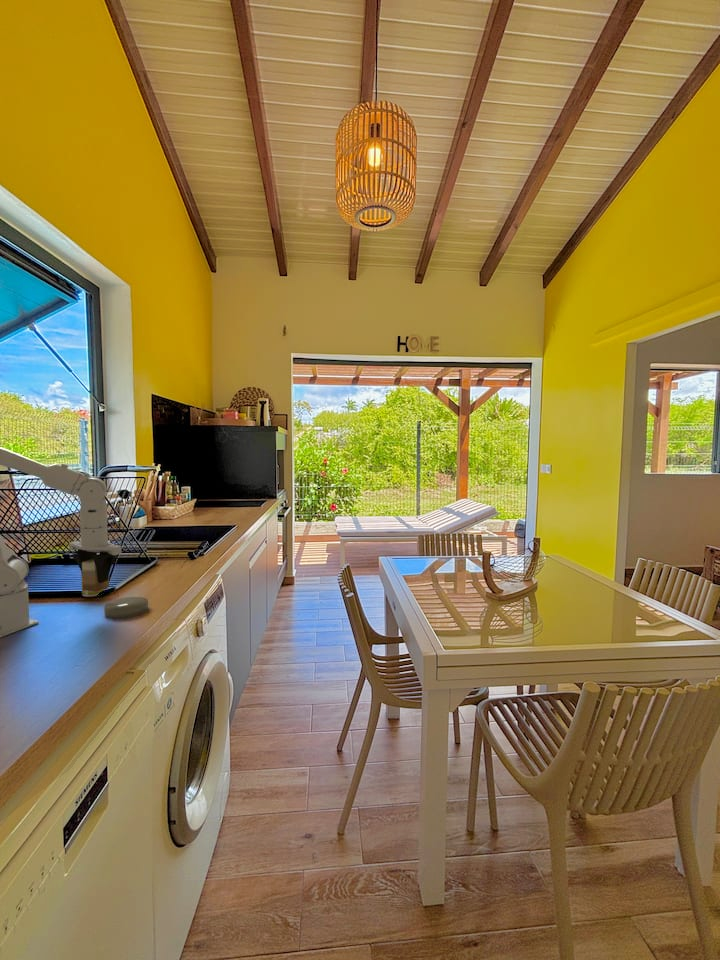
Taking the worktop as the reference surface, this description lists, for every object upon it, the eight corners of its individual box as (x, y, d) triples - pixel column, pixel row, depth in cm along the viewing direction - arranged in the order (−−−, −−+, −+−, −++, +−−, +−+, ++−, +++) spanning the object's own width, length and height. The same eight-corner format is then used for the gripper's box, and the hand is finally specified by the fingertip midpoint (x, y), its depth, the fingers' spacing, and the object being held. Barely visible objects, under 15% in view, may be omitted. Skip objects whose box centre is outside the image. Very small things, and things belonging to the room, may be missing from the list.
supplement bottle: (108, 591, 130) (107, 558, 129) (95, 597, 124) (94, 563, 124) (90, 590, 130) (89, 557, 130) (77, 596, 125) (76, 562, 124)
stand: (126, 620, 109) (126, 612, 109) (94, 615, 112) (94, 607, 112) (156, 606, 118) (156, 599, 118) (126, 602, 121) (126, 594, 121)
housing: (95, 591, 108) (94, 563, 108) (82, 590, 110) (81, 562, 109) (109, 586, 112) (108, 559, 112) (96, 585, 113) (95, 558, 113)
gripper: (130, 525, 111) (132, 579, 112) (85, 522, 116) (87, 573, 117) (106, 531, 105) (108, 587, 106) (60, 526, 109) (62, 581, 110)
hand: (96, 580), depth 111 cm, fingers closed on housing, 4 cm apart
